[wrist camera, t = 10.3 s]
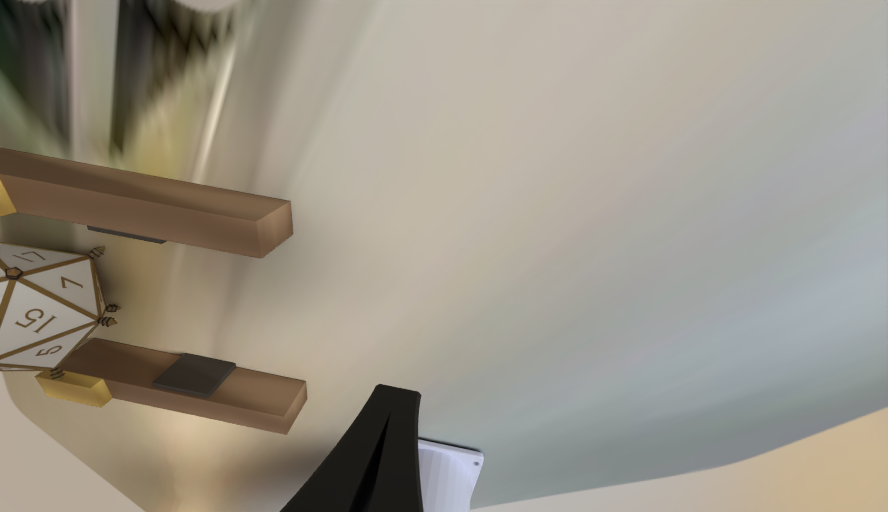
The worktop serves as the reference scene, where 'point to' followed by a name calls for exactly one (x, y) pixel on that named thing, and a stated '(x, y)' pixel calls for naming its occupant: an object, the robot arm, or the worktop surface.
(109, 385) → the twin wooden rails
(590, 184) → the worktop surface
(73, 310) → the game die
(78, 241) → the worktop surface
